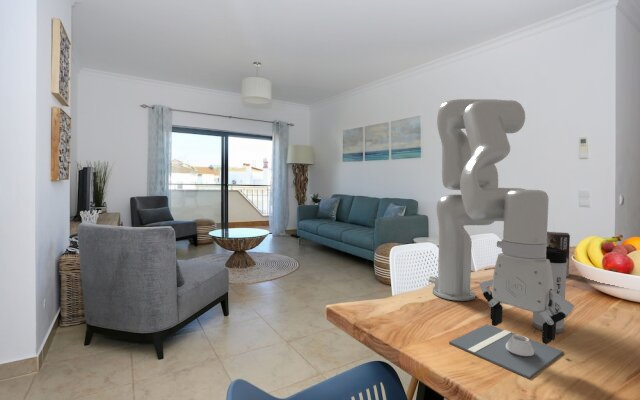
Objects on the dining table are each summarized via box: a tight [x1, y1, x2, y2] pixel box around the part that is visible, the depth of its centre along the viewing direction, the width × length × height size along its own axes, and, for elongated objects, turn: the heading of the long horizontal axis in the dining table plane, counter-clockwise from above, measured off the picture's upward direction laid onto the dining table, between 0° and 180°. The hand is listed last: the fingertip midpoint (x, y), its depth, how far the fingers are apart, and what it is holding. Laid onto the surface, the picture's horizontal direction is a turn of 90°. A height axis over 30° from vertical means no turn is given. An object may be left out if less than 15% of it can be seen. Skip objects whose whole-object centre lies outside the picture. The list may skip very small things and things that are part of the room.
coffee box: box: [547, 231, 571, 277], centre depth 130 cm, size 9×6×16 cm
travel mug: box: [532, 246, 567, 334], centre depth 80 cm, size 6×7×20 cm
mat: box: [448, 323, 564, 380], centre depth 71 cm, size 16×16×1 cm
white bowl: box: [506, 334, 534, 356], centre depth 68 cm, size 5×3×5 cm
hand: (520, 332), depth 68 cm, fingers open, 9 cm apart
